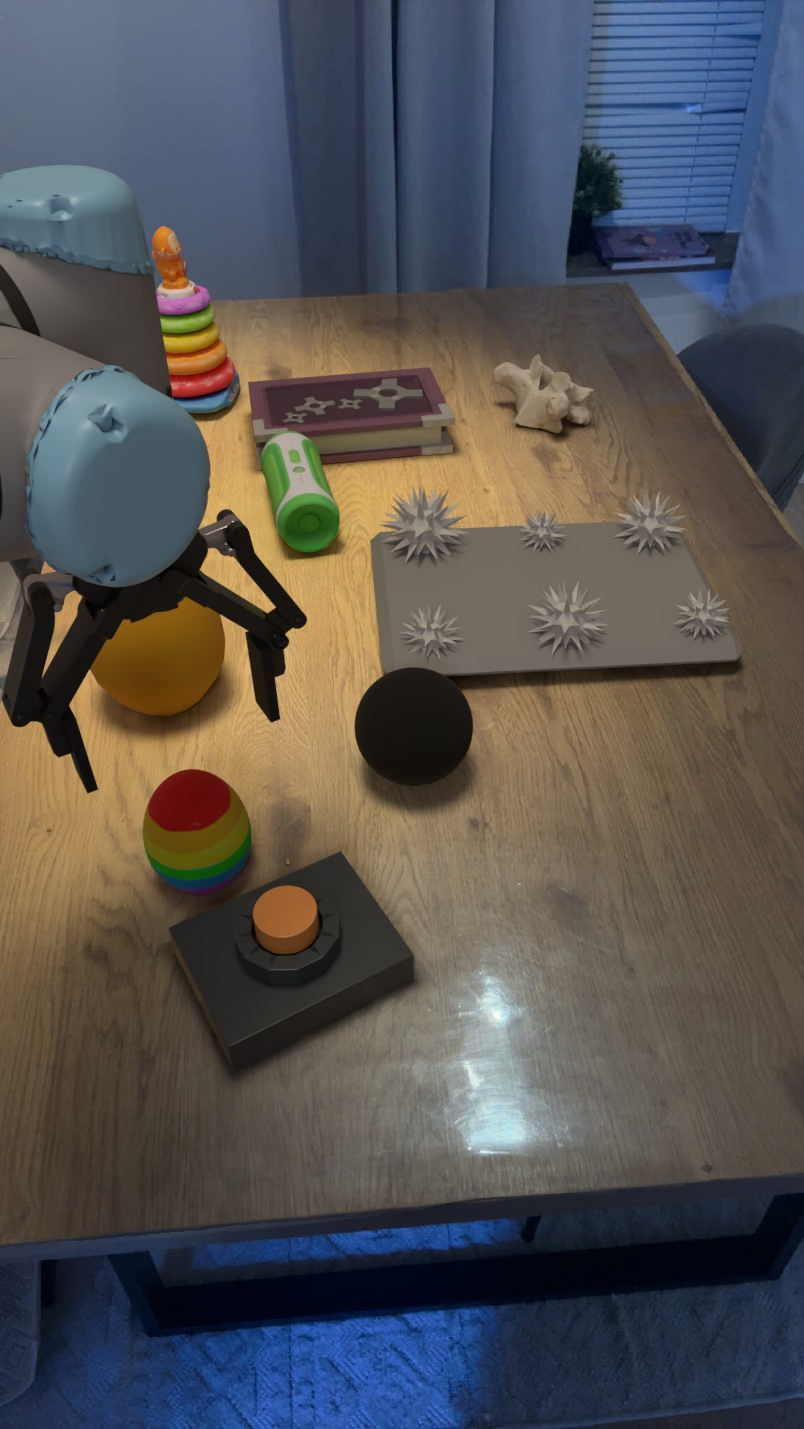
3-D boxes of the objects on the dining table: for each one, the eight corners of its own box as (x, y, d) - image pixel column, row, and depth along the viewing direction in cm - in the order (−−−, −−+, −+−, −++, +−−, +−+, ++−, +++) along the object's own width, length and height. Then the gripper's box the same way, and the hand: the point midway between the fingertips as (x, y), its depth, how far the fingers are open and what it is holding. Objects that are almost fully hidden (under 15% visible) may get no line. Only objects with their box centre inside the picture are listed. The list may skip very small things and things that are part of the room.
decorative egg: (245, 818, 84) (230, 731, 78) (266, 892, 79) (252, 805, 72) (146, 842, 83) (122, 754, 76) (160, 920, 77) (136, 832, 70)
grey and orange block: (234, 1072, 68) (224, 1032, 64) (174, 953, 75) (163, 911, 71) (414, 980, 73) (414, 938, 69) (342, 876, 80) (339, 834, 76)
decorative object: (555, 451, 134) (557, 398, 128) (475, 414, 141) (473, 363, 135) (595, 419, 138) (599, 366, 132) (515, 385, 145) (515, 333, 138)
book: (258, 472, 129) (254, 435, 125) (251, 416, 140) (247, 381, 137) (454, 454, 132) (455, 418, 128) (430, 400, 143) (430, 366, 140)
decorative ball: (339, 794, 86) (333, 707, 80) (379, 720, 93) (376, 633, 87) (451, 822, 84) (454, 734, 77) (484, 743, 91) (489, 656, 84)
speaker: (344, 553, 114) (341, 494, 109) (280, 561, 113) (274, 502, 108) (319, 478, 127) (315, 422, 122) (261, 485, 126) (255, 429, 121)
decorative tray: (383, 693, 96) (380, 608, 90) (369, 546, 115) (366, 467, 109) (744, 673, 98) (768, 588, 91) (671, 532, 117) (687, 453, 110)
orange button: (272, 965, 68) (269, 947, 67) (245, 919, 71) (242, 901, 70) (330, 937, 70) (328, 919, 69) (302, 893, 73) (299, 875, 71)
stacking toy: (226, 423, 139) (202, 244, 123) (135, 419, 140) (100, 241, 124) (247, 381, 149) (227, 211, 133) (162, 378, 150) (133, 209, 134)
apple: (76, 730, 93) (45, 630, 85) (127, 644, 102) (104, 547, 95) (210, 745, 91) (191, 645, 84) (250, 656, 101) (237, 559, 93)
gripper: (-97, 572, 51) (18, 848, 65) (344, 446, 60) (360, 712, 74) (-123, 505, 55) (-11, 776, 70) (289, 398, 64) (314, 657, 79)
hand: (180, 744), depth 72 cm, fingers open, 13 cm apart
